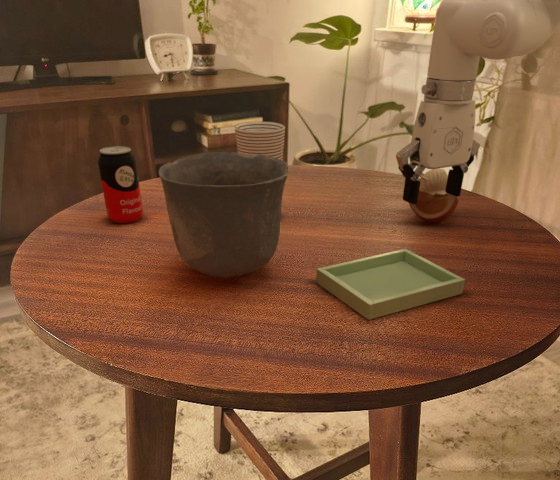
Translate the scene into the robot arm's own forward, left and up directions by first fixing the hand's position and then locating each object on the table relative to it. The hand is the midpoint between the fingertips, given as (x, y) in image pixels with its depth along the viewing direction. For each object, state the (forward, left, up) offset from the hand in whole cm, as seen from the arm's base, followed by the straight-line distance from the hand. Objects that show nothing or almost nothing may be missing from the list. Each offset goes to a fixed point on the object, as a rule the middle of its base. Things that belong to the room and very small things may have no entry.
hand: (431, 198), depth 99 cm
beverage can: (+48, -27, -4) cm, 55 cm away
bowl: (+41, +4, -4) cm, 41 cm away
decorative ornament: (-10, -12, -4) cm, 16 cm away
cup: (+26, -16, -4) cm, 30 cm away
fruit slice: (0, 0, -4) cm, 4 cm away
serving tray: (+24, +19, -4) cm, 31 cm away
